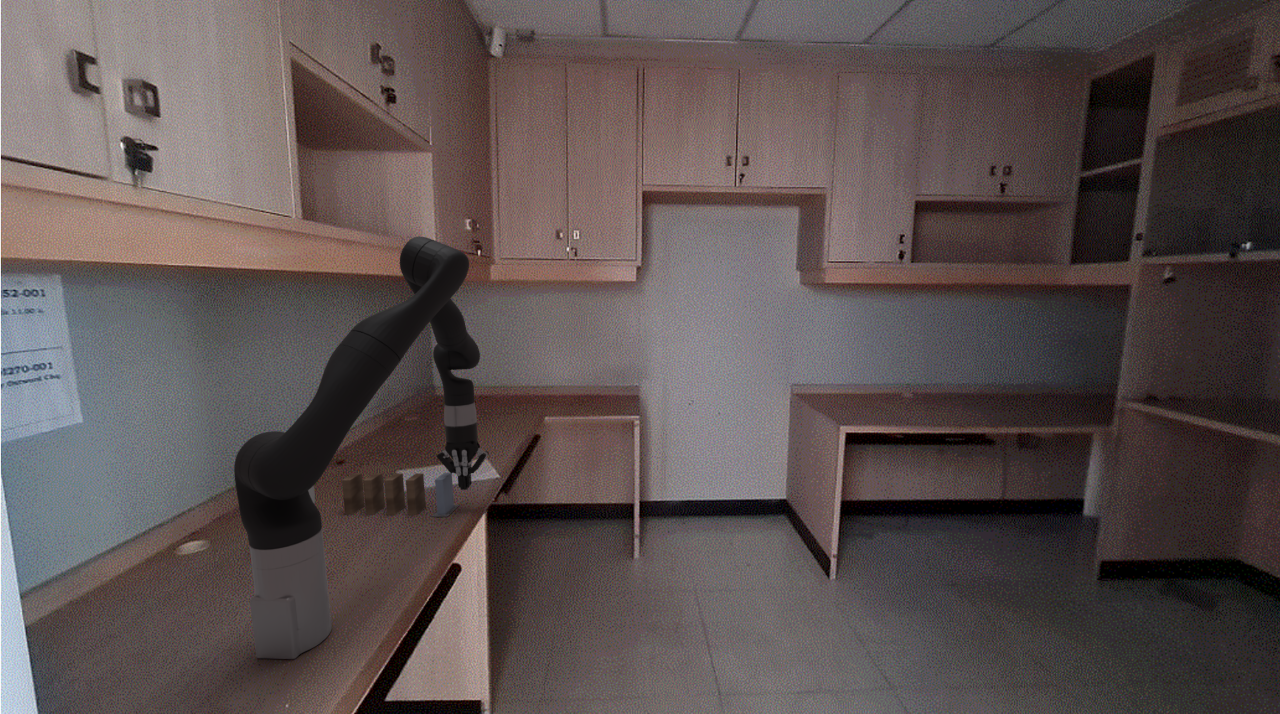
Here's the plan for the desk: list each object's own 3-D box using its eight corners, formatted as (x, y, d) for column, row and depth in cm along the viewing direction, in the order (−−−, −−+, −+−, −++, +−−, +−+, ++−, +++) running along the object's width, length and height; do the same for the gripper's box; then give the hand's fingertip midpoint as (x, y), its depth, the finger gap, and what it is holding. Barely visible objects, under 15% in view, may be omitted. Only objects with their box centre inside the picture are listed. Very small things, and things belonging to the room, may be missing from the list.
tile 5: (352, 514, 126) (349, 480, 125) (345, 514, 126) (341, 480, 125) (364, 506, 130) (361, 473, 129) (357, 506, 131) (354, 473, 130)
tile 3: (394, 515, 125) (392, 480, 124) (387, 514, 125) (384, 480, 124) (405, 506, 130) (402, 473, 129) (398, 506, 130) (395, 473, 129)
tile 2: (416, 515, 124) (413, 480, 123) (408, 515, 125) (405, 480, 124) (425, 506, 129) (423, 473, 128) (418, 506, 130) (415, 473, 129)
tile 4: (373, 514, 125) (370, 480, 124) (366, 514, 125) (363, 480, 124) (385, 506, 130) (382, 473, 129) (377, 506, 130) (374, 473, 129)
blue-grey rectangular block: (445, 514, 124) (442, 479, 123) (437, 514, 124) (434, 479, 123) (453, 506, 129) (451, 472, 128) (446, 506, 129) (444, 472, 128)
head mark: (447, 517, 123) (447, 516, 123) (431, 516, 123) (431, 516, 123) (459, 505, 130) (459, 504, 130) (444, 505, 130) (444, 504, 130)
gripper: (492, 417, 127) (496, 483, 129) (442, 417, 128) (446, 483, 130) (481, 425, 119) (485, 494, 121) (427, 425, 120) (432, 494, 122)
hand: (465, 488), depth 125 cm, fingers closed
